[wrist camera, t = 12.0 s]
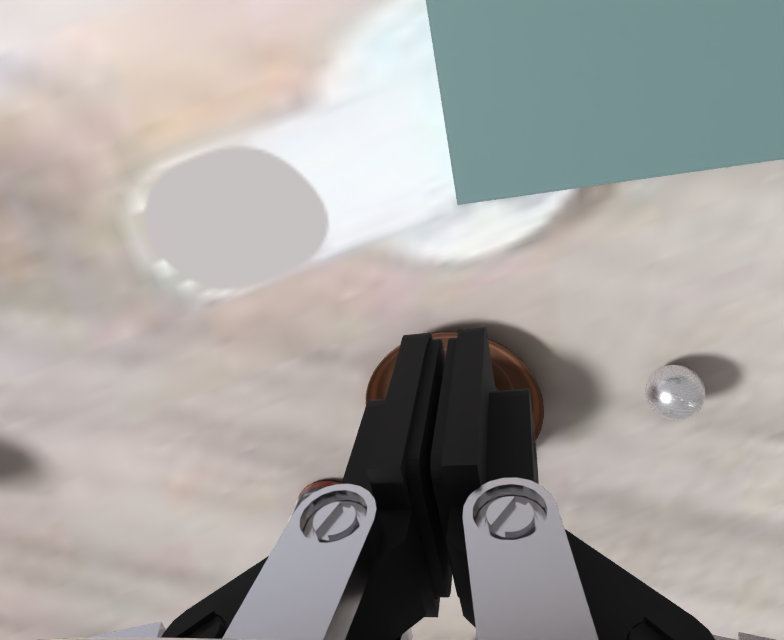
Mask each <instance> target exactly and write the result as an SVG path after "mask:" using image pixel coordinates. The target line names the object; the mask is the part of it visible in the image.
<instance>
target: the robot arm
mask: <svg viewBox="0 0 784 640" xmlns="http://www.w3.org/2000/svg"><path fill="white" fill-rule="evenodd" d="M452 574H453V578H454V583H455V587H456V592H457V596H458V597H459V598H460V603H461V607H462V612H463V616H464V617H465V618H466V619H467V620H468V621H469V622H470V623H471V624H472V625H473V626H474V627H475V628H476V634H477V640H735V639H730V638H726V637H721V636H716V635H712V634H711V632H710V631H709V630H708V629H707V628H706V627H705V626H704V625H703V624H701V623H700V622H699V621H698V620H697V619H696V618H695V617H693V616H692V615H690V614H689V613H687V612H686V611H684V610H683V609H681V608H680V607H679V606H677V605H676V604H674V603H673V602H671V601H670V600H668V599H667V598H665V597H664V596H662V595H661V594H659V593H658V592H656V591H655V590H654V589H652V588H651V587H649V586H648V585H646V584H645V583H643V582H642V581H640V580H639V579H637V578H636V577H634V576H633V575H632V574H630V573H629V572H627V571H626V570H624V569H623V568H621V567H620V566H618V565H617V564H615V563H614V562H612V561H611V560H609V559H608V558H607V557H605V556H604V555H602V554H601V553H599V552H598V551H596V550H595V549H593V548H592V547H590V546H589V545H587V544H586V543H584V542H583V541H582V540H580V539H579V538H577V537H576V536H574V535H573V534H571V533H570V532H568V531H567V530H565V529H564V526H563V522H562V519H561V516H560V512H559V509H558V506H557V503H556V501H555V500H554V498H553V496H552V494H551V493H550V492H549V491H547V490H546V489H545V488H544V487H543V486H542V485H539V482H538V467H537V453H536V442H535V432H534V422H533V413H532V405H531V396H530V390H529V389H517V390H503V391H496V389H495V383H494V376H493V369H492V362H491V355H490V349H489V342H488V335H487V330H486V328H477V329H466V330H458V335H457V337H456V338H449V339H448V345H447V351H446V357H445V352H444V347H443V342H442V340H441V339H434V340H433V338H432V335H431V333H423V334H413V335H404V336H403V338H402V341H401V345H400V349H399V352H398V356H397V359H396V363H395V367H394V370H393V374H392V378H391V381H390V385H389V388H388V392H387V396H386V399H374V400H370V401H368V403H367V405H366V408H365V411H364V414H363V418H362V421H361V424H360V427H359V430H358V433H357V437H356V440H355V443H354V446H353V449H352V452H351V456H350V459H349V462H348V465H347V468H346V471H345V475H344V478H343V481H342V484H336V485H332V486H328V487H325V488H322V489H320V490H318V491H316V492H314V493H312V494H311V495H310V496H309V497H307V498H306V499H305V500H304V501H302V502H301V504H300V505H299V506H298V508H297V509H296V510H295V511H294V513H293V515H292V517H291V518H290V520H289V522H288V524H287V526H286V527H285V529H284V531H283V533H282V534H281V536H280V538H279V540H278V541H277V543H276V545H275V547H274V548H273V550H272V552H271V554H270V555H269V556H268V557H267V558H265V559H264V560H262V561H261V562H259V563H258V564H256V565H254V566H253V567H251V568H250V569H248V570H247V571H245V572H244V573H242V574H241V575H239V576H238V577H236V578H235V579H233V580H232V581H230V582H229V583H227V584H226V585H224V586H223V587H221V588H220V589H218V590H217V591H215V592H214V593H212V594H210V595H209V596H207V597H206V598H204V599H203V600H201V601H200V602H198V603H197V604H195V605H194V606H192V607H191V608H189V609H188V610H186V611H185V612H184V613H183V614H181V615H180V616H179V617H178V618H176V619H175V620H174V621H173V622H172V623H171V624H170V626H169V627H168V628H165V627H164V626H163V624H162V622H158V623H153V624H148V625H143V626H139V627H134V628H129V629H124V630H119V631H115V632H110V633H105V634H100V635H96V636H91V637H86V638H61V639H39V640H412V637H413V635H412V630H411V627H412V626H413V625H415V624H416V623H417V622H418V621H420V620H421V619H422V618H423V617H438V612H439V602H440V597H450V593H451V583H452ZM738 640H774V639H770V638H765V637H760V636H755V635H751V634H746V633H741V632H739V633H738Z"/></svg>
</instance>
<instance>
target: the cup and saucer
mask: <svg viewBox="0 0 784 640" xmlns="http://www.w3.org/2000/svg"><path fill="white" fill-rule="evenodd" d="M431 335H432V338H433V340H434V339H441V340H442V342H443V347H444V352H445V357H446V351H447V345H448V339H449V338H456V337H457V335H458V333H454V332H444V333H434V334H431ZM488 342H489V349H490V355H491V362H492V369H493V376H494V383H495V389H496V391H503V390H517V389H529V390H530V396H531V405H532V413H533V422H534V432H535V441H536V439H537V437H538V435H539V433H540V431H541V427H542V424H543V418H544V406H543V399H542V395H541V392H540V389H539V386H538V384H537V382H536V380H535V378H534V377H533V375H532V373H531V372H530V370H529V369H528V368H527V367H526V365H525V364H524V363H523V362H522V361H521V360H520V359H519V358H518V357H516V356H515V355H514V354H513V353H512V352H510V351H509V350H507V349H506V348H504V347H502V346H501V345H499V344H497V343H495V342H492V341H490V340H488ZM399 349H400V346H398V347H397V348H395V349H394V350H393V351H391V352H390V353H389V354H388V355H387V356H386V357H385V358H384V359H383V360H382V361H381V362H380V364H379V365H378V366H377V368H376V369H375V371H374V372H373V374H372V376H371V378H370V381H369V384H368V387H367V392H366V405H367V403H368V401H370V400H374V399H386V396H387V392H388V388H389V385H390V381H391V378H392V374H393V370H394V367H395V363H396V359H397V356H398V352H399Z"/></svg>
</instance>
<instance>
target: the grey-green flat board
mask: <svg viewBox="0 0 784 640" xmlns="http://www.w3.org/2000/svg"><path fill="white" fill-rule="evenodd" d="M426 4H427V11H428V17H429V24H430V30H431V36H432V43H433V49H434V56H435V62H436V69H437V75H438V82H439V88H440V94H441V101H442V107H443V114H444V120H445V127H446V133H447V140H448V146H449V152H450V159H451V165H452V172H453V178H454V185H455V191H456V198H457V204H458V205H460V204H467V203H475V202H482V201H489V200H496V199H503V198H510V197H517V196H524V195H531V194H539V193H546V192H553V191H560V190H567V189H574V188H581V187H588V186H596V185H603V184H610V183H617V182H624V181H631V180H638V179H645V178H652V177H660V176H667V175H674V174H681V173H688V172H695V171H702V170H709V169H716V168H724V167H731V166H738V165H745V164H752V163H759V162H766V161H773V160H780V159H784V0H426Z"/></svg>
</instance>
